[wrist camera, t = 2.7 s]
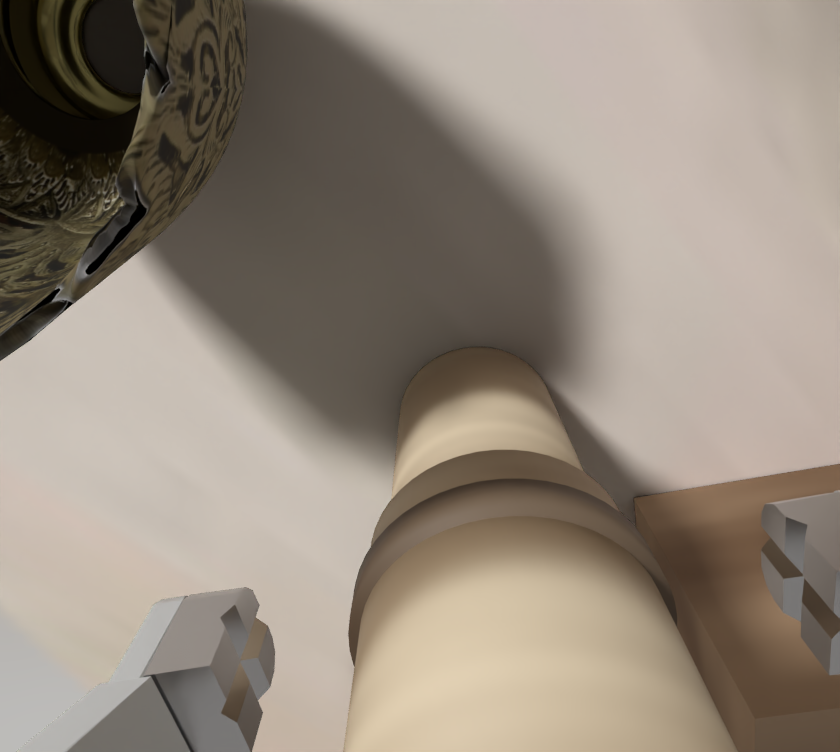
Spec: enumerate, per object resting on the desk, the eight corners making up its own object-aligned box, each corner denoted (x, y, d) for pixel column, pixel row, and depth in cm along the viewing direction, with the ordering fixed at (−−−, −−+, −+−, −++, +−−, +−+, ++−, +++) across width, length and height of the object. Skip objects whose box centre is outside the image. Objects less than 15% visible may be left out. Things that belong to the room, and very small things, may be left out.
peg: (362, 350, 13) (223, 840, 4) (557, 312, 13) (864, 763, 4) (405, 509, 15) (370, 1106, 6) (578, 480, 15) (828, 1074, 6)
